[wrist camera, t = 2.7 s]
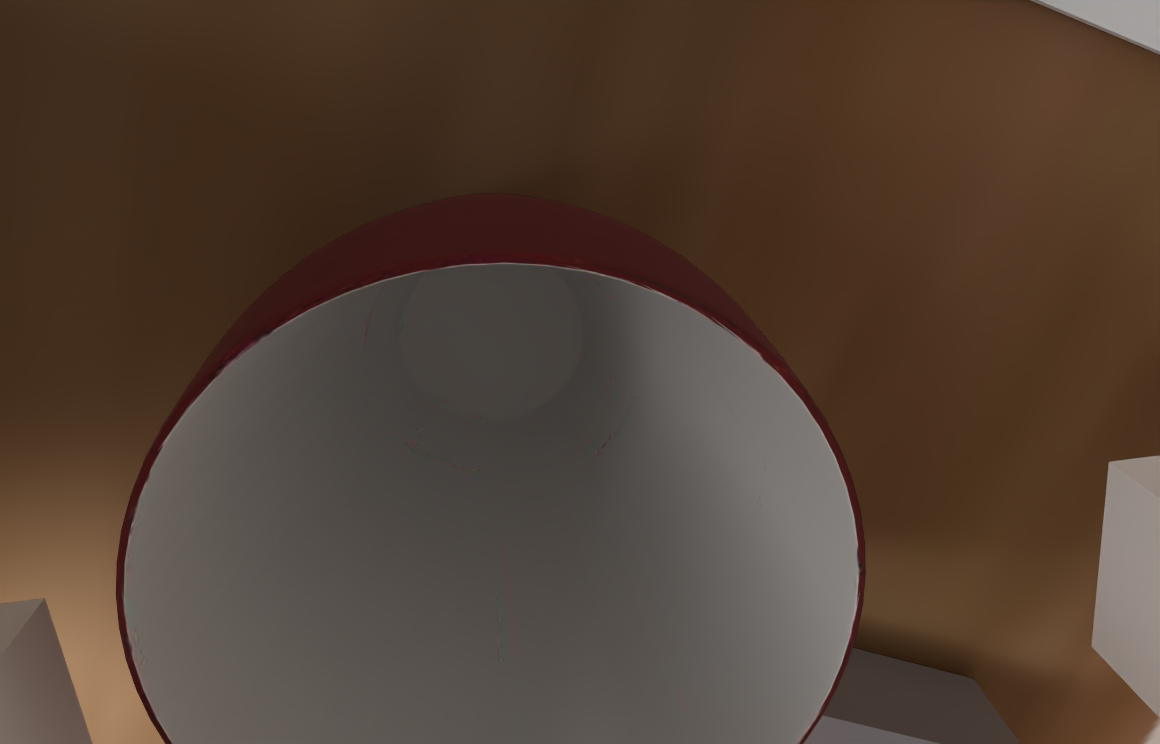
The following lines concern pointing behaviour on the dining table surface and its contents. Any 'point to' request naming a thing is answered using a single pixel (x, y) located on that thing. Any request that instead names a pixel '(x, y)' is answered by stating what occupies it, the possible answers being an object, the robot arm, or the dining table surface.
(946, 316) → the dining table surface
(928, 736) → the button housing
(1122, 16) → the paper
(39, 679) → the robot arm
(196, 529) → the mug
